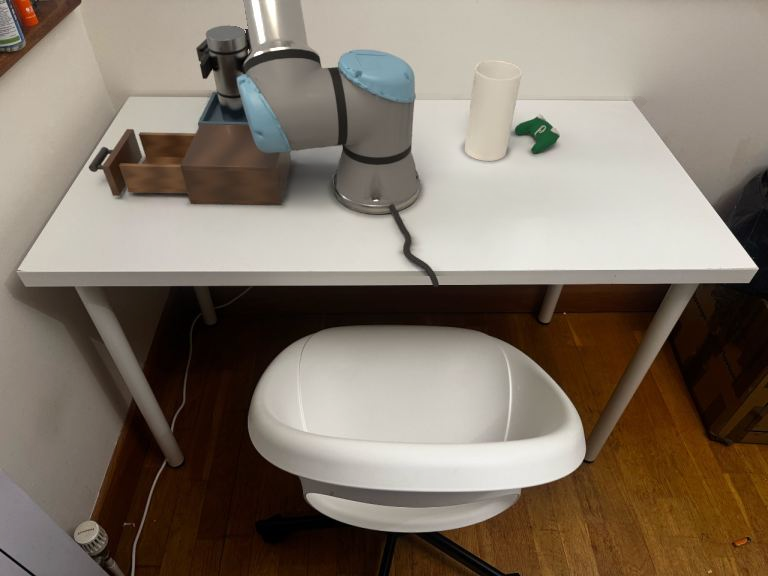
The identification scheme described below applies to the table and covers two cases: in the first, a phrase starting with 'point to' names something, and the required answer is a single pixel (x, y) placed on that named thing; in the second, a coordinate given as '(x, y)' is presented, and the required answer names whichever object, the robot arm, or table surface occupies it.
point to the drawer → (145, 163)
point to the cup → (492, 109)
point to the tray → (215, 113)
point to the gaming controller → (539, 132)
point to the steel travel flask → (228, 68)
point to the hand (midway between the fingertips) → (224, 72)
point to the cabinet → (233, 168)
